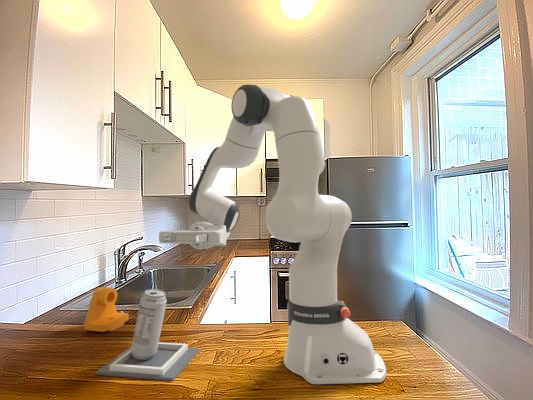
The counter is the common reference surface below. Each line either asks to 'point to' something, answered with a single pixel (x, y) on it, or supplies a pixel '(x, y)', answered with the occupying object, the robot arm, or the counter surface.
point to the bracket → (104, 311)
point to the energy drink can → (148, 324)
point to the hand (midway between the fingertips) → (178, 238)
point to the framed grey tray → (151, 363)
